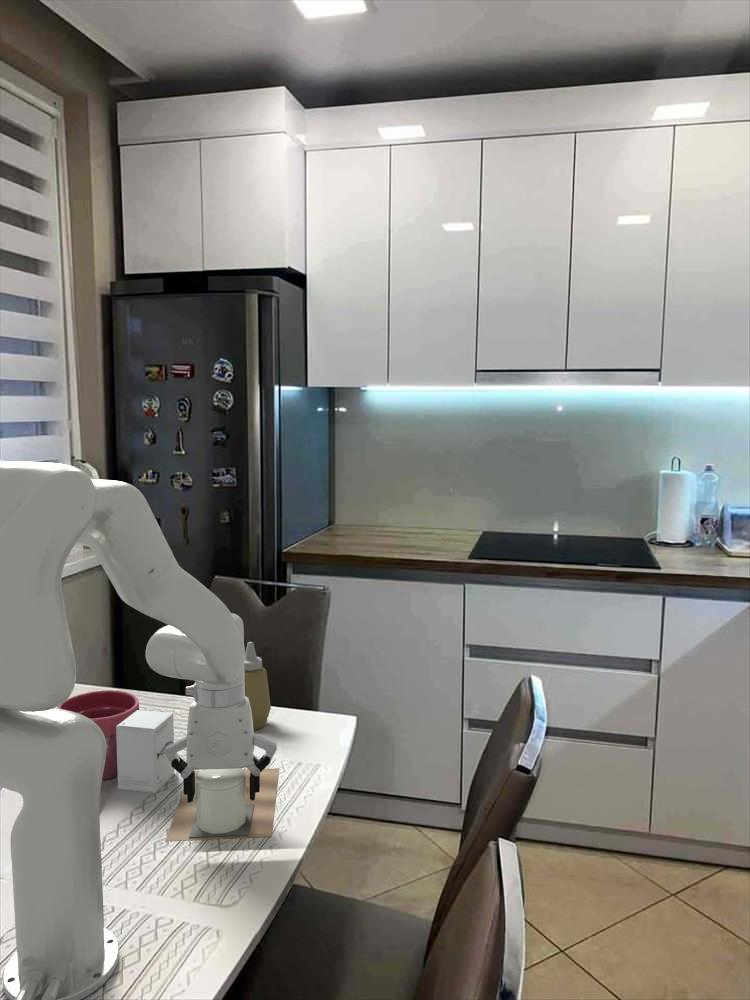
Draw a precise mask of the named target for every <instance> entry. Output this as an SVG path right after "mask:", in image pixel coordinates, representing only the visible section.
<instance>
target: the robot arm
mask: <svg viewBox="0 0 750 1000" xmlns="http://www.w3.org/2000/svg"><path fill="white" fill-rule="evenodd" d="M167 541H168V540H167V539H166V537H165V535H164V534H163V531H162V529H161V527H160V525H159V523H158V521H157V519H156V517H155V515H154V513H153V511H152V509H151V508H150V504H149V503H148V501H147V498H145V496H144V495H143V493H142V492H141V491H140V490H139V489H138V488H137V487H136V486H134V485H133V484H131V483H128V482H124V481H119V480H112V479H111V480H110V479H93V478H91V477H90V476H89V474H88V473H86V472H85V471H83V470H82V469H80V468H78V467H75V466H72V465H68V464H63V463H55V462H42V461H41V462H40V461H9V460H8V461H7V460H6V461H3V460H0V788H2V789H3V788H4V789H6V790H9V791H12V792H15V793H18V794H19V795H20V796H21V797H22V801H23V803H22V805H21V809H20V811H19V813H18V815H17V816H16V818H15V820H14V823H13V824H12V825H13V826H12V829H11V832H10V833H11V834H10V857H11V869H12V870H11V874H12V890H13V892H12V893H13V907H14V908H13V909H14V926H15V944H16V945H15V946H16V948H15V949H16V952H15V953H14V954H13V955H12V956H11V958H10V959H9V961H8V962H7V964H6V966H5V968H4V971H3V977H2V978H3V979H2V985H3V992H4V994H5V996H6V998H7V999H8V1000H82V999H84V998H86V997H88V996H89V995H91V994H93V993H94V992H96V991H97V990H98V989H99V988H100V987H102V986H104V984H105V983H106V982H107V980H109V978H111V976H112V975H113V974H114V971H115V970H116V968H117V965H118V963H119V957H120V949H119V948H120V947H119V942H118V940H117V937H116V936H115V935H114V934H113V933H112V932H111V930H108V929H107V928H105V915H104V891H103V868H102V867H103V865H102V842H101V841H102V840H101V819H100V818H101V813H100V809H101V808H100V805H101V789H102V782H103V781H102V776H103V771H104V765H105V759H106V740H105V737H104V734H103V732H102V730H101V729H100V728H99V726H98V725H97V724H96V723H95V722H94V721H92V720H91V719H89V718H87V717H85V716H83V715H81V714H78V713H75V712H72V711H68V710H64V709H59V708H57V707H58V706H60V705H61V704H63V703H64V702H65V701H66V700H67V699H69V698H70V696H71V694H72V693H73V691H74V690H75V685H76V681H77V664H76V663H77V662H76V657H75V652H74V647H73V642H72V638H71V633H70V628H69V623H68V618H67V614H66V613H67V612H66V607H65V603H64V597H63V590H62V588H63V587H62V576H63V574H64V573H63V572H64V568H65V565H66V563H67V560H68V558H69V556H70V553H71V551H72V550H73V548H74V546H86V547H88V548H89V549H91V550H92V552H93V553H94V555H95V556H96V559H97V560H98V561H99V563H100V565H101V567H102V569H103V571H104V572H105V573H106V575H107V577H108V578H109V581H110V582H111V585H112V586H113V587H114V589H115V591H116V593H117V595H118V597H120V599H121V600H122V601H123V602H124V603H125V604H127V605H128V606H130V607H131V608H133V609H135V610H137V611H138V612H140V613H141V614H144V615H146V616H148V617H150V618H152V619H154V620H157V621H159V622H161V623H164V624H165V625H166V626H163V627H161V628H159V629H157V631H155V632H154V634H153V635H151V636H150V638H149V640H148V642H147V645H146V647H145V648H146V649H145V660H146V663H147V664H148V666H149V668H150V669H151V670H153V671H154V672H155V673H157V674H159V675H162V676H165V677H169V678H174V679H180V680H188V681H194V683H193V685H190V686H186V687H185V695H186V696H191V697H193V699H194V700H193V701H192V702H191V703H190V705H189V711H188V717H187V728H186V736H184V737H182V738H181V739H179V740H176V741H174V743H173V744H171V745H169V746H167V747H166V749H165V755H166V756H167V758H168V760H169V761H170V762H171V766H172V767H173V768H174V771H176V772H177V773H179V775H180V777H181V779H182V780H183V783H182V785H183V786H182V787H183V790H184V795H187V802H188V803H191V802H192V801H193V798H194V795H195V771H196V770H198V771H201V770H205V769H236V768H242V769H244V768H245V769H248V770H249V771H250V778H249V780H250V800H255V794H256V792H259V791H260V773H261V772H262V771H263V770H264V769H267V767H268V765H270V763H271V761H272V760H273V757H274V755H275V753H276V752H277V750H278V749H277V748H278V744H277V743H275V742H274V741H272V740H269V738H265V737H263V736H261V735H259V734H257V733H255V732H254V731H255V730H254V729H253V719H252V712H251V707H250V702H249V699H248V698H247V697H246V696H245V681H244V662H245V653H246V649H245V634H244V633H245V632H244V631H245V630H244V629H245V628H244V627H245V626H244V622H243V619H242V618H241V617H240V615H238V614H237V613H233V612H231V611H230V609H229V608H228V606H227V605H226V604H225V603H224V602H223V601H222V600H221V599H220V598H219V597H218V596H217V595H216V594H215V593H213V591H211V590H210V589H209V588H207V587H206V586H205V585H204V584H203V583H201V582H200V581H199V580H198V579H197V578H195V577H194V576H193V575H191V573H188V572H187V571H186V570H184V569H183V567H181V566H180V564H179V563H178V561H177V559H176V557H175V556H174V553H173V551H172V549H171V547H170V545H169V544H168V542H167ZM255 747H257V748H259V749H261V750H264V751H265V753H264V754H263V755H262V756H261V757H260V758H259V759H258V757H257V756H256V755H255V754H254V751H255ZM184 749H185V750H186V751H185V753H186V761H185V760H184V759H183V758H182V757H181V756H180V755H179V754H178V752H180V751H182V750H184Z"/></svg>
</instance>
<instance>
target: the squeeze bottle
mask: <svg viewBox="0 0 750 1000" xmlns="http://www.w3.org/2000/svg"><path fill="white" fill-rule="evenodd" d="M244 681H245V696H246V697H247V698H248V699H249V702H250V707H251V712H252V719H253V729H254V731H255V730H260V729H262V728H264V727H265V726H266V724H267V721H268V719H269V715H270V713H271V709H272V705H271V700H270V689H269V681H268V671H267V670H266V668H265V667H263V659H262V657H260V656H257V652H256V649H255V644H254V642H253V641H249V642H247V645H246V649H245V662H244Z"/></svg>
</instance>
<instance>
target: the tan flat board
mask: <svg viewBox="0 0 750 1000" xmlns="http://www.w3.org/2000/svg"><path fill="white" fill-rule="evenodd" d="M242 769H243V770H244V771H245V774H246V820H245V823H244V824H243V825H242V826H240V827H239V828H238V829H236V830H233V831H230V832H227V833H216V834H211V833H208V832H205V831H202V830H201V829H200V828H199V827H198V825H197V816H196V777H197V774H198V773H199V772H200V771H201V770H194V771H195V795H194V798H193V801H192V802H191V803H188V802H187V795H184V789H183V791H182V793H181V796H180V798H179V801H178V803H177V807H176V810H175V812H174V815H173V818H172V820H171V824H170V826H169V829H168V832H167V834H166V837H165V842H182V841H184V842H185V841H187V842H188V841H209V840H210V841H211V840H212V841H214V840H228V839H229V840H234V839H235V840H237V839H260V838H261V839H262V838H263V839H264V838H273V837H272V836H273V828H274V818H275V810H276V803H277V802H276V800H277V794H278V793H277V792H278V783H279V775H280V768H279V767H278V768H277V767H275V768H265V769H264V770H263V771H262V772H261V773H260V791H259V792H256V794H255V800H250V780H249V778H250V771H249V770H248V769H247V768H245V769H244V768H242Z"/></svg>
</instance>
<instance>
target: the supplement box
mask: <svg viewBox="0 0 750 1000" xmlns="http://www.w3.org/2000/svg"><path fill="white" fill-rule="evenodd" d="M174 733H175V732H174V712H165V711H152V710H140V709H139V710H137V711H135V712H134V713H133V714H132V715H130V716H129V717H128V718H126V719H125V720H124V721H123V722H121V723H120V724H119V725H117V726H116V739H117V772H118V775H117V789H118V790H122V791H123V790H124V791H130V792H132V791H133V792H141V793H151V794H156V793H157V792H159V790H161V788H163V786H164V785H165V784H167V782H169V780H170V779H171V778H172V777H173V776H174V775H175V774H176V773H175V769H174V768H173V767H172V766H171V762H170V761H169V760H168V758H167V756H166V755H165V749H166V747H167V746H169V745H171V744H173V743H175V736H174Z"/></svg>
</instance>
